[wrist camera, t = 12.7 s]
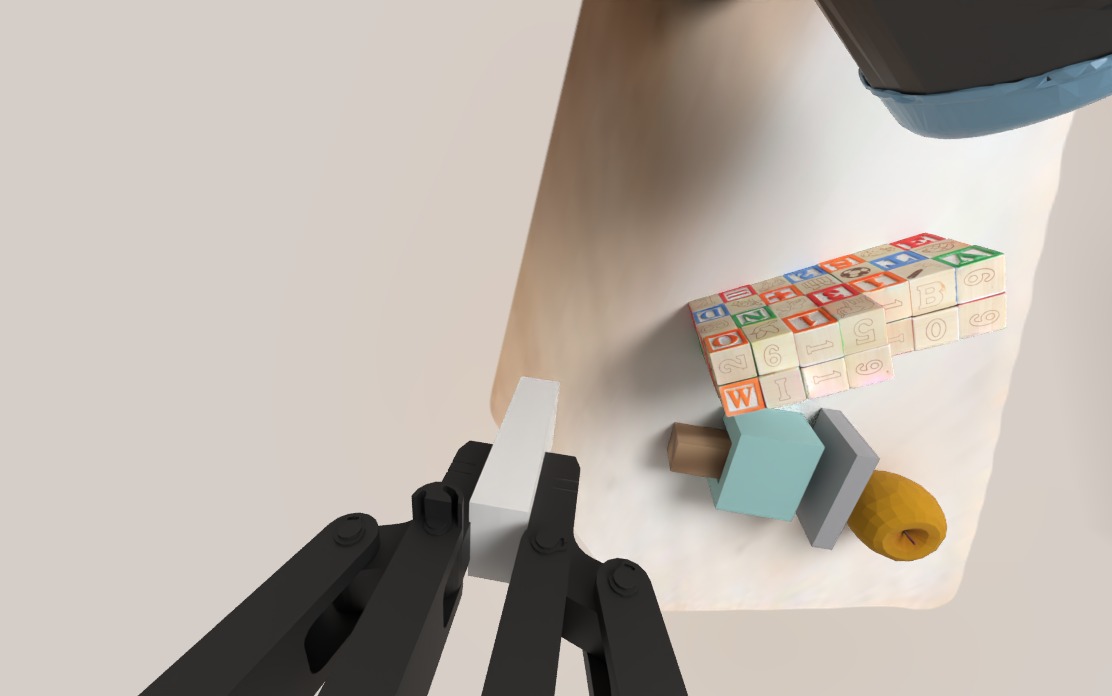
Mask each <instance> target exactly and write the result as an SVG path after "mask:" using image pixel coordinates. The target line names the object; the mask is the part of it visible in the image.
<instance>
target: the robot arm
mask: <svg viewBox="0 0 1112 696" xmlns="http://www.w3.org/2000/svg"><path fill="white" fill-rule="evenodd" d="M815 2H816V3H817V5H818V6H819V8H820V9H821V11H822V12H823V14H824V15H825V17H826V19H827V20H828V22H829V23H830V25H831V26H832V28H833V29H834V31H835V32H836V34H837V35H838V37H839V38H840V40H841V41H842V43H843V44H844V46H845V47H846V49H847V50H848V52H849V53H850V55H851V56H852V58H853V59H854V61H855V62H856V64H857V65H858V67H859V77H860V80H861V82H862V83H863V85H864V86H865V88H866V89H869V90H870V91H871V92H872V94H874V95H876V96H878V97H879V98H880V99H881V101H882V102H883V103H884V105H885V106H886V107H887V109H888V110H889V111H890V113H891V114H892V115H893V117H894V118H895V119H896V120H897V122H898V123H899V124H900V125H901V126H903V127H905V128H906V129H908V130H910V131H911V132H913V133H915V134H918V135H921V136H924V137H930V138H938V139H961V138H971V137H979V136H985V135H990V134H995V133H1000V132H1004V131H1009V130H1013V129H1017V128H1021V127H1025V126H1028V125H1031V124H1035V123H1038V122H1041V121H1044V120H1047V119H1051V118H1054V117H1057V116H1060V115H1063V114H1066V113H1068V112H1071V111H1074V110H1076V109H1079V108H1082V107H1084V106H1087V105H1089V104H1092V103H1094V102H1097V101H1099V100H1101V99H1103V98H1106V97H1108V96H1110V95H1112V0H815ZM559 388H560V382H557V381H550V380H543V379H537V378H530V377H524V376H522V377H521V379H520V381H519V384H518V386H517V389H516V391H515V393H514V396H513V398H512V401H511V403H510V405H509V408H508V410H507V413H506V415H505V417H504V420H503V422H502V425H501V427H500V429H499V432H498V434H497V437H496V439H495V442H494V444H488V443H482V442H475V441H469V442H467V443H466V444H465V445H464V446H462V447H461V448H460V449H459V450H458V452H457V454H456V456H455V457H454V459H453V462H452V463H451V465H450V467H449V469H448V472H447V473H446V475H445V477H444V478H443V480H442V482H433V483H430V484H426V485H424V486H423V487H420V488H419V489H417V490H416V492H415V493H414V494H413V495H412V511H413V520H411V521H408V522H405V523H400V524H392V525H382V526H378V524H377V522H376V519H374V518H373V517H372V516H370V515H368V514H363V513H353V514H347V515H344V516H342V517H339V518H337V519H336V520H334V521H333V522H331V523H330V524H329V525H327V526H326V527H325V528H324V529H323V530H322V531H321V532H320V533H319V534H317V536H315V537H314V538H313V539H312V540H311V541H310V542H309V543H307V544H306V545H305V546H304V547H303V548H302V549H301V550H300V551H299V552H298V553H296V554H295V555H294V556H293V557H292V558H291V559H290V560H289V561H287V562H286V563H285V564H284V565H283V566H282V567H281V568H280V569H278V570H277V571H276V572H275V573H274V574H273V575H272V576H271V577H270V578H268V579H267V580H266V581H265V582H264V583H263V584H262V585H261V586H260V587H258V588H257V589H256V590H255V591H254V592H253V593H252V594H251V595H250V596H249V597H247V598H246V599H245V600H244V601H243V602H242V603H241V604H240V605H238V606H237V607H236V608H235V609H234V610H233V611H232V612H231V613H230V614H228V615H227V616H226V617H225V618H224V619H223V620H222V621H221V622H220V623H218V624H217V625H216V626H215V627H214V628H213V629H212V630H211V631H210V632H208V633H207V634H206V635H205V636H204V637H203V638H202V639H201V640H200V641H198V642H197V643H196V644H195V645H194V646H193V647H192V648H191V649H189V650H188V651H187V652H186V653H185V654H184V655H183V656H182V657H181V658H179V660H177V661H176V662H175V663H174V664H173V665H172V666H171V667H169V669H167V670H166V671H165V672H164V673H163V674H162V675H161V676H159V677H158V678H157V679H156V680H155V681H154V682H153V683H152V684H151V685H149V686H148V687H147V688H146V689H145V690H144V691H143V692H142V693H141V694H139V695H138V696H314V695H315V693H316V692H317V691H318V690H319V688H320V687H321V686H322V685H323V683H324V682H325V683H324V685H323V687H322V689H321V691H320V692H319V694H318V696H427V695H428V692H429V689H430V686H431V683H432V680H433V677H434V675H435V672H436V668H437V666H438V663H439V660H440V657H441V654H442V651H443V648H444V645H445V642H446V639H447V637H448V634H449V631H450V628H451V625H452V622H453V619H454V616H455V613H456V610H457V607H458V605H459V602H460V599H461V596H462V589H463V577H464V575H465V572H466V570H467V567H468V576H474V577H479V578H484V579H490V580H495V581H500V582H506V583H509V587H508V591H507V595H506V599H505V603H504V607H503V611H502V615H501V619H500V623H499V627H498V631H497V635H496V639H495V643H494V648H493V651H492V655H491V659H490V663H489V667H488V671H487V675H486V679H485V683H484V687H483V691H482V695H481V696H554V694H555V686H556V677H557V668H558V660H559V652H560V643H561V637H562V638H564V639H566V640H568V641H569V642H571V643H573V644H574V645H576V646H578V647H579V648H581V649H583V656H584V663H585V669H586V675H587V683H588V689H589V696H688V694H687V691H686V688H685V685H684V682H683V679H682V675H681V672H680V669H679V666H678V663H677V660H676V657H675V654H674V651H673V648H672V645H671V642H670V639H669V636H668V633H667V630H666V627H665V624H664V621H663V617H662V614H661V611H660V608H659V605H658V602H657V599H656V596H655V593H654V590H653V587H652V584H651V581H650V579H649V577H648V575H647V573H646V572H645V571H644V570H643V569H642V568H641V567H640V566H639V565H638V564H636V563H634V562H632V561H630V560H628V559H621V558H615V559H610V560H607V561H606V562H605V563H601V562H599V561H597V560H595V559H593V558H592V557H590V556H588V555H587V554H585V553H584V552H583V551H582V550H581V549H580V548H579V546H578V545H577V543H576V541H575V538H574V534H573V528H574V520H575V511H576V502H577V494H578V485H579V477H580V466H579V464H578V462H577V459H576V457H574V456H568V455H561V454H555V453H550V452H551V448H552V443H553V438H554V430H555V421H556V413H557V404H558V396H559Z"/></svg>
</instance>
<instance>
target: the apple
mask: <svg viewBox="0 0 1112 696" xmlns="http://www.w3.org/2000/svg"><path fill="white" fill-rule="evenodd" d="M847 523H848V525H849V527H850V529H851V530H852V531H853V532H854V534H855V535H856V536H857V537H858V538H859V539H860V540H861V541H862V542H863V543H864V544H865V545H866V546H867V547H869V548H870V549H871V550H873V551H875V552H876V553H879V554H881V555H883V556H886V557H888V558H890V559H892V560H895V561H913V560H917V559H921V558H924V557H925V556H927V555H929V554H930V553H932V552H934V551H936V550H937V548H938V547H939V546H940V544H941V543H942V541H943V540H944V538H945V537H946V531H947V524H946V519H945V516H944V513H943V511H942V509H941V507H940V506H939V504H938V502H937V501H936V499H935V498H934V497H933V496H932V495H931V494H930V493H929V492H927V491H926V490H925V489H924V488H923V487H922V486H921V485H919V484H917V483H915V482H913V481H911V480H909V479H907V478H905V477H903V476H901V475H898V474H894V473H890V472H886V471H876V470H874V471H873V473H872V475H871V477H870V479H869V481H868V482H867V484H866V486H865V488H864V490H863V492H862V494H861V496H860V498H859V499H858V501H857V503H856V505H855V507H854V509H853V511H852V513H851V514H850V516H849V518H848V520H847Z"/></svg>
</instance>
